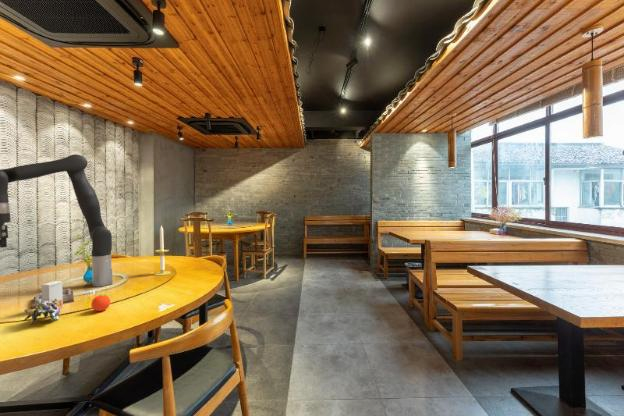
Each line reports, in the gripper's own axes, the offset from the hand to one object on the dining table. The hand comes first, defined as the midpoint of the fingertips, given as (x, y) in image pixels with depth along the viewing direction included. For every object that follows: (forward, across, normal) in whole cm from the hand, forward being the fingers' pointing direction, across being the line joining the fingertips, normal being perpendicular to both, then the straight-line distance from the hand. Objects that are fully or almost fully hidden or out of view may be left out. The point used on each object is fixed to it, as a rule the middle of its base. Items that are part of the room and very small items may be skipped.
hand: (0, 246), depth 139 cm
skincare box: (+28, -29, -10) cm, 41 cm away
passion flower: (+28, -44, -2) cm, 52 cm away
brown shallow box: (+28, -14, -14) cm, 34 cm away
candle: (+29, -10, -72) cm, 78 cm away
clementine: (+28, -50, -21) cm, 61 cm away
